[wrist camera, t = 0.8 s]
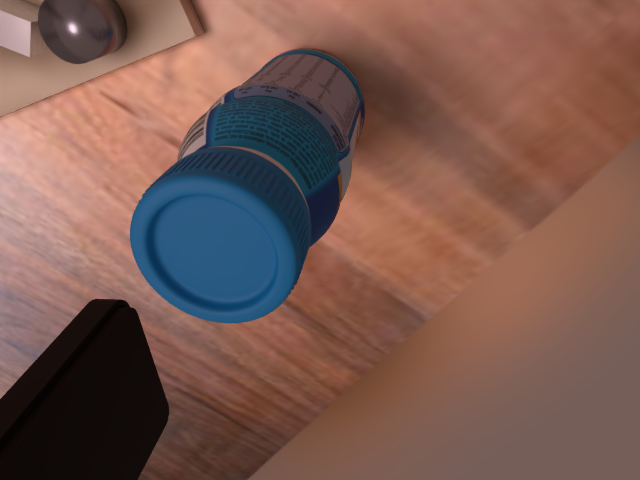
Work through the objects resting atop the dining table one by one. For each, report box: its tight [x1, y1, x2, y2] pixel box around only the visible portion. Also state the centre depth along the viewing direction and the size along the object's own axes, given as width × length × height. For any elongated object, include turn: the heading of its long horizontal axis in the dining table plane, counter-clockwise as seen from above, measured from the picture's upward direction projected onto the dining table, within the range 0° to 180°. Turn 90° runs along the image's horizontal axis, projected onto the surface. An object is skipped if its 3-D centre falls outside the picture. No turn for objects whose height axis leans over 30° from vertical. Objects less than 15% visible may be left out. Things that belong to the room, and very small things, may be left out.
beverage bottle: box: [130, 49, 365, 323], centre depth 27 cm, size 8×8×20 cm
